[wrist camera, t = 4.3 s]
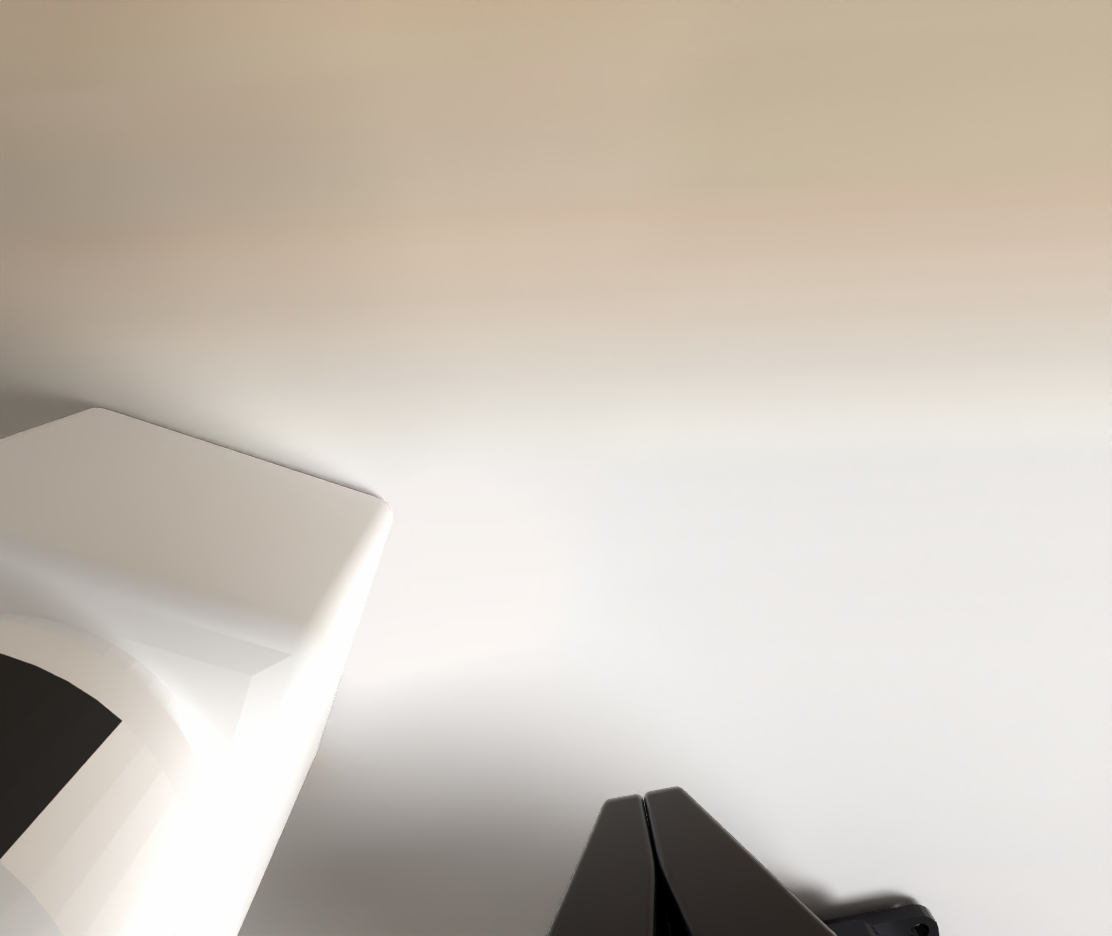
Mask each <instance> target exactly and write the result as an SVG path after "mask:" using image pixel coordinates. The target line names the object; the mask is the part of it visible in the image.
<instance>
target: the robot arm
mask: <svg viewBox="0 0 1112 936" xmlns="http://www.w3.org/2000/svg"><path fill="white" fill-rule="evenodd" d="M644 804H645V806H644ZM645 809H646V810H645ZM646 814H647V815H646ZM647 819H648V820H647ZM648 824H649V825H648ZM649 829H650V830H649ZM917 924H919V925H918V926H915V925H917ZM914 926H915V927H914ZM546 936H939V929H938V925H937V923H936V921H935V919H934V918H933V916H932V914H931V913H930V911H929V910H928V909H927V908H926V907H924V906H921V905H908V906H902V907H897V908H892V909H886V910H881V911H876V912H870V913H865V914H860V915H854V916H849V917H844V918H838V919H833V920H828V921H821V920H820V919H819V918H818V917H817V916H816V915H815V914H814V913H813V912H812V911H811V910H810V909H808V908H807V907H806V906H805V905H804V904H803V903H802V902H801V901H800V900H799V899H798V898H797V897H796V896H795V895H794V894H793V893H792V892H791V891H790V890H788V889H787V888H786V887H785V886H784V885H783V884H782V883H781V882H780V881H779V880H778V879H777V878H776V877H775V876H774V875H773V874H772V873H771V872H770V871H769V870H767V869H766V868H765V867H764V866H763V865H762V864H761V863H760V862H759V861H758V860H757V859H756V858H755V857H754V856H753V855H752V854H751V853H750V852H749V851H747V850H746V849H745V848H744V847H743V846H742V845H741V844H740V843H739V842H738V841H737V840H736V839H735V838H734V837H733V836H732V835H731V834H730V833H729V832H727V831H726V830H725V829H724V828H723V827H722V826H721V825H720V824H719V823H718V822H717V821H716V820H715V819H714V818H713V817H712V816H711V815H710V814H709V813H707V812H706V811H705V810H704V809H703V808H702V807H701V806H700V805H699V804H698V803H697V802H696V801H695V800H694V799H693V798H692V797H691V796H690V795H689V794H688V793H686V792H685V791H684V790H683V789H682V788H680V787H671V788H665V789H660V790H655V791H650V792H647V793H646V794H645V796H644V801H643V798H642V797H641V796H640V795H638V794H634V795H628V796H623V797H618V798H612V799H609V800H606V801H605V802H604V804H603V806H602V808H601V810H600V812H599V815H598V817H597V819H596V822H595V824H594V826H593V829H592V831H591V833H590V835H589V838H588V840H587V842H586V845H585V847H584V849H583V852H582V854H581V856H580V858H579V861H578V863H577V865H576V868H575V870H574V872H573V874H572V877H571V879H570V881H569V884H568V886H567V888H566V891H565V893H564V895H563V897H562V900H561V902H560V904H559V907H558V909H557V911H556V914H555V916H554V918H553V920H552V923H551V925H550V927H549V930H548V932H547V934H546Z"/></svg>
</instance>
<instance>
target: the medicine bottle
mask: <svg viewBox="0 0 1112 936" xmlns="http://www.w3.org/2000/svg"><path fill="white" fill-rule="evenodd" d="M392 520H393V510H392V508H391V507H390V505H389V503H388V502H386V501H384V500H383V499H380V498H377V497H374V496H371V495H368V494H365V493H362V492H359V491H356V490H353V489H350V488H347V487H343V486H340V485H337V484H334V483H331V482H328V481H325V480H322V479H319V478H316V477H313V476H310V475H307V474H304V473H301V472H298V471H294V470H291V469H288V468H285V467H282V466H279V465H276V464H273V463H270V462H267V461H264V460H261V459H258V458H255V457H252V456H249V455H246V454H242V453H239V452H236V451H233V450H230V449H227V448H224V447H221V446H218V445H215V444H212V443H209V442H206V441H203V440H200V439H197V438H193V437H190V436H187V435H184V434H181V433H178V432H175V431H172V430H169V429H166V428H163V427H160V426H157V425H154V424H151V423H148V422H145V421H141V420H138V419H135V418H132V417H129V416H126V415H123V414H120V413H117V412H114V411H111V410H108V409H104V408H90V409H87V410H84V411H81V412H78V413H75V414H72V415H69V416H66V417H63V418H60V419H58V420H55V421H52V422H49V423H46V424H43V425H40V426H37V427H34V428H31V429H28V430H25V431H22V432H19V433H16V434H13V435H11V436H8V437H5V438H2V439H0V936H237V935H238V933H239V931H240V928H241V926H242V924H243V921H244V919H245V917H246V914H247V912H248V910H249V908H250V905H251V903H252V901H253V898H254V896H255V894H256V891H257V889H258V887H259V884H260V882H261V880H262V878H263V875H264V873H265V871H266V868H267V866H268V864H269V861H270V859H271V857H272V854H273V852H274V850H275V848H276V845H277V843H278V841H279V838H280V836H281V834H282V831H283V829H284V827H285V824H286V822H287V820H288V818H289V815H290V813H291V811H292V808H293V806H294V804H295V801H296V799H297V797H298V794H299V792H300V790H301V788H302V785H303V783H304V781H305V778H306V776H307V774H308V771H309V769H310V767H311V764H312V762H313V760H314V757H315V755H316V753H317V751H318V748H319V745H320V742H321V738H322V735H323V732H324V729H325V726H326V723H327V720H328V717H329V714H330V711H331V708H332V705H333V701H334V698H335V695H336V692H337V689H338V686H339V683H340V680H341V677H342V674H343V671H344V668H345V664H346V661H347V658H348V655H349V652H350V649H351V646H352V643H353V640H354V637H355V634H356V631H357V627H358V624H359V621H360V618H361V615H362V612H363V609H364V606H365V603H366V600H367V597H368V594H369V590H370V587H371V584H372V581H373V578H374V575H375V572H376V569H377V566H378V563H379V560H380V557H381V553H382V550H383V547H384V544H385V541H386V538H387V535H388V532H389V529H390V526H391V523H392Z"/></svg>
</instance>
